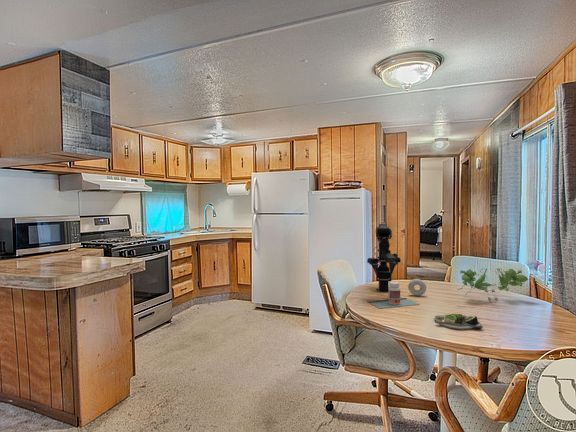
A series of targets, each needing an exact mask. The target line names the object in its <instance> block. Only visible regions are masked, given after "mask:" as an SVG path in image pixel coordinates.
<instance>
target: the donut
mask: <svg viewBox="0 0 576 432" xmlns="http://www.w3.org/2000/svg"><path fill="white" fill-rule="evenodd" d="M407 286H408V287H407V288H408V291H409V293H410V294H412V295H414V296H415V297H416V296H417V297H420V296H423V295H424V294H425V293H426V291H427V285H426V283H425V282H424V280H422V279H419V278H414V279H412V280H410V281H409V283H408V284H407ZM415 286H419V289H416V288H415Z"/></svg>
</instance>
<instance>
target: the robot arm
mask: <svg viewBox="0 0 576 432" xmlns="http://www.w3.org/2000/svg"><path fill="white" fill-rule="evenodd" d="M375 237H376V240H377V242H378V249H377V253H378V256H377V257H368V258H367V261H366V263H367V264H368V265H370V266H371V267H372V270H373V272H374V273H375V276H376V282H378V288H376V291H378V292H381V293H384V292H385V293H386V292H388V288H389V287H390V286H389V282H392V275H393V272H394V271H395V270H394V269H395V267H396V266H397V265H399V263H401V261H402V259H401V257H399V255H398V253H391V252H392V251H391V250H390V246H391V244H390V240H391V239H392V238H393V232H392V229H391V228H390V226H388V224H387V223H379V224H378V226H377V227H376V229H375ZM387 264H388V265H387Z"/></svg>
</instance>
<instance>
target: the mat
mask: <svg viewBox="0 0 576 432" xmlns="http://www.w3.org/2000/svg"><path fill="white" fill-rule="evenodd" d="M369 304H370V305H371V306H374V307H376V308H377V309H381V310H382V309H390V308H400V307H408V306H409V307H410V306H411V307H412V306H419V305H420V303H419V302H416V301H415V300H414V301H413V300H412V299H408V298H407V299H403V300H400V304H398V305H393V304H390V303H389V301H382V302H372V303H369Z"/></svg>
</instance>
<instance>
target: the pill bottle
mask: <svg viewBox="0 0 576 432" xmlns="http://www.w3.org/2000/svg"><path fill="white" fill-rule="evenodd" d="M388 284H389V288H388V291H387V293H388V296H387V297H388V298H387V299H388V300H389V303H390V304H393V305H398V304H400V298H401V287H400V282H399V281H390V282H389V281H388Z"/></svg>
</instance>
